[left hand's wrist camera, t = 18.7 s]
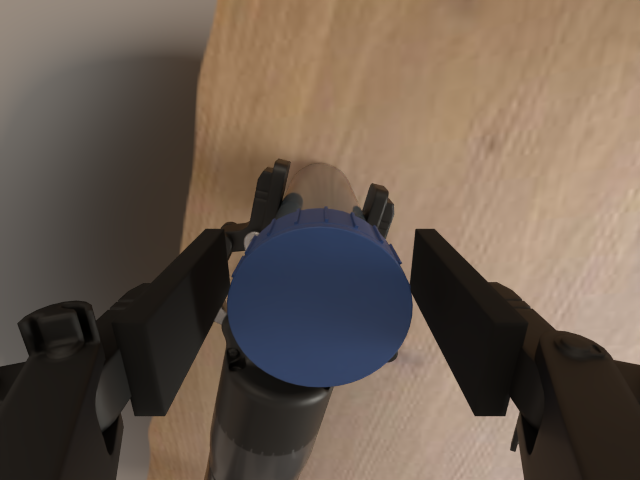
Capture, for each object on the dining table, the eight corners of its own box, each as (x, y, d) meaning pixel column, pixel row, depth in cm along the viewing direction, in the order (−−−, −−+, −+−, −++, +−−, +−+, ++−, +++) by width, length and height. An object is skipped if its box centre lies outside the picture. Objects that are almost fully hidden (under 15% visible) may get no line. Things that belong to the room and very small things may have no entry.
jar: (301, 153, 24) (274, 207, 10) (361, 177, 25) (418, 261, 11) (279, 212, 26) (228, 334, 11) (337, 234, 26) (357, 375, 12)
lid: (431, 258, 12) (453, 286, 10) (344, 371, 13) (348, 413, 11) (289, 173, 11) (282, 186, 9) (213, 307, 12) (194, 341, 10)
